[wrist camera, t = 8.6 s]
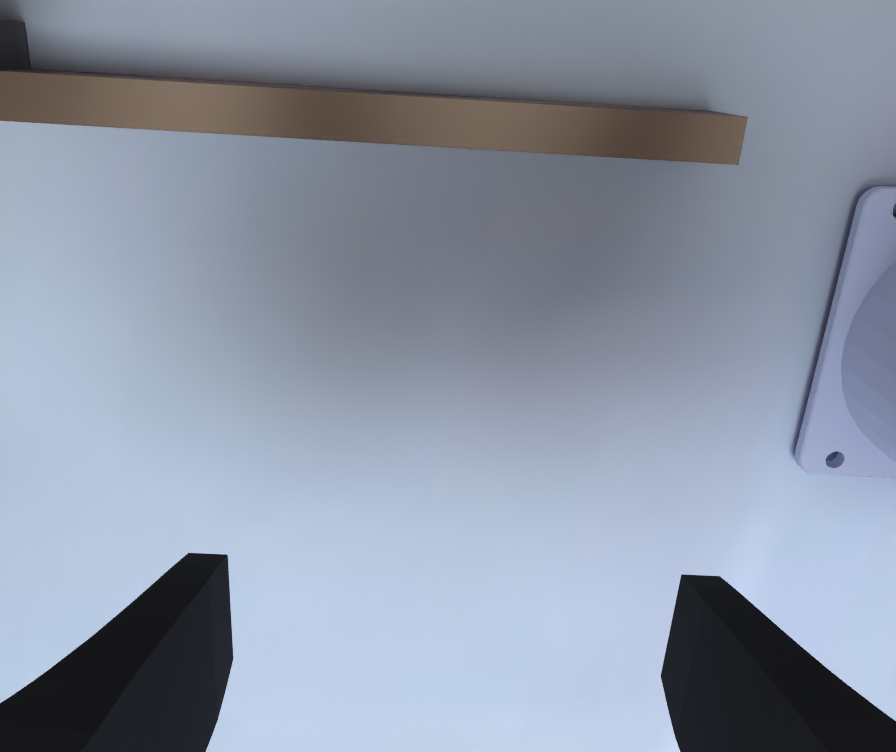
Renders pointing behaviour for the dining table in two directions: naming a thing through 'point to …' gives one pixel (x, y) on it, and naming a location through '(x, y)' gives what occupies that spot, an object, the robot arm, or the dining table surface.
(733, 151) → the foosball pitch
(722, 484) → the dining table surface
